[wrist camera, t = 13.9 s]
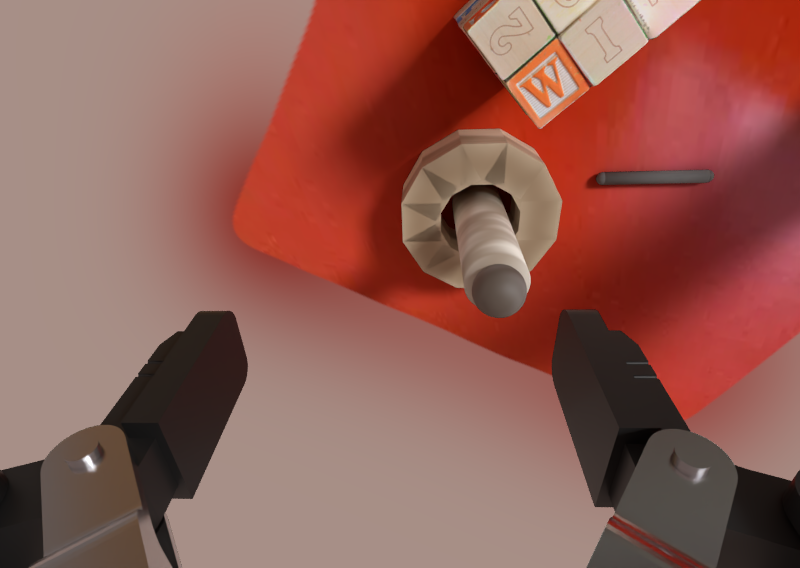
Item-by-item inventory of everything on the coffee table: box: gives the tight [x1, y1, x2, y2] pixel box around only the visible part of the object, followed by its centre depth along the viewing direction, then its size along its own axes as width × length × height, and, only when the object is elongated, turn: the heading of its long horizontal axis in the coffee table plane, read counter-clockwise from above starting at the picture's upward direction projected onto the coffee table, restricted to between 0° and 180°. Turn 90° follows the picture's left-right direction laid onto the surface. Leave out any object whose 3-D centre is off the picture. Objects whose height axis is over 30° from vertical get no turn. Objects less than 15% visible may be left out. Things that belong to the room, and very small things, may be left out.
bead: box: [401, 129, 562, 288], centre depth 38 cm, size 12×12×4 cm
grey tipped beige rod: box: [452, 184, 531, 318], centre depth 33 cm, size 4×4×15 cm
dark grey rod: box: [596, 170, 714, 185], centre depth 37 cm, size 9×1×1 cm, turn 92°
